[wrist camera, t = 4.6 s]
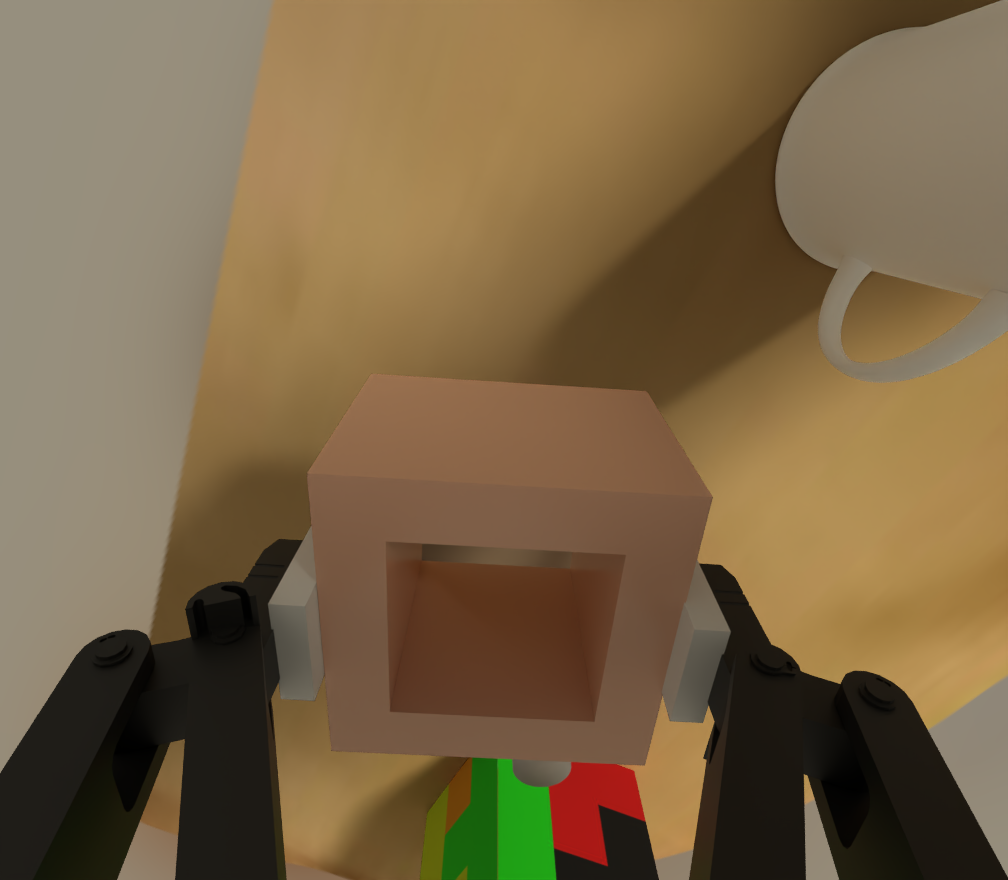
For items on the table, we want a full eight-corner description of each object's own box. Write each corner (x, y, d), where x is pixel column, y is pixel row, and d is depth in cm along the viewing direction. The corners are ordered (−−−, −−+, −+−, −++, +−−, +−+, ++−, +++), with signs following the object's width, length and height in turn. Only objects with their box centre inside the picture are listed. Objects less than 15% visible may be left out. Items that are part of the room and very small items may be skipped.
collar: (646, 391, 17) (712, 496, 12) (607, 605, 20) (645, 765, 15) (370, 373, 17) (306, 473, 11) (378, 593, 20) (331, 750, 15)
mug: (816, 369, 27) (1037, 504, 16) (674, 259, 25) (816, 326, 14) (1042, 127, 23) (1552, 82, 12) (896, -28, 21) (1348, -259, 10)
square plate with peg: (678, 527, 30) (741, 649, 22) (635, 721, 36) (673, 871, 28) (405, 512, 29) (372, 633, 22) (406, 712, 35) (380, 863, 28)
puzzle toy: (555, 854, 41) (571, 1046, 32) (427, 812, 39) (405, 1004, 30) (633, 769, 38) (676, 958, 29) (497, 718, 36) (497, 904, 27)
